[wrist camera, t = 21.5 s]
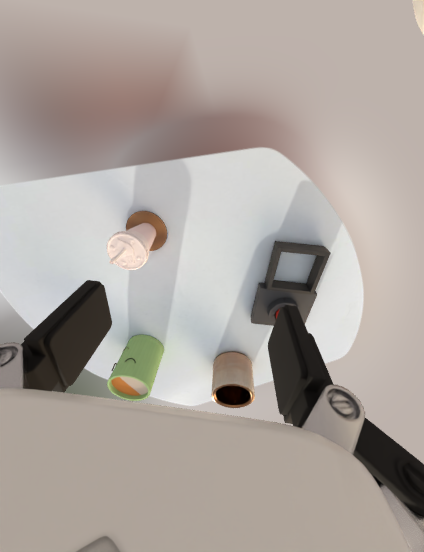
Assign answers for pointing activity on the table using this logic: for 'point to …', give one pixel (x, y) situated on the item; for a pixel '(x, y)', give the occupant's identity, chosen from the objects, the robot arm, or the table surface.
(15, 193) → the table surface
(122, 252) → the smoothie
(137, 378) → the mug
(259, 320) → the button base
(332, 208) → the table surface
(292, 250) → the frame
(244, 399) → the planter
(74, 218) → the table surface
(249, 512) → the robot arm
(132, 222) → the coaster
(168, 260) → the table surface
